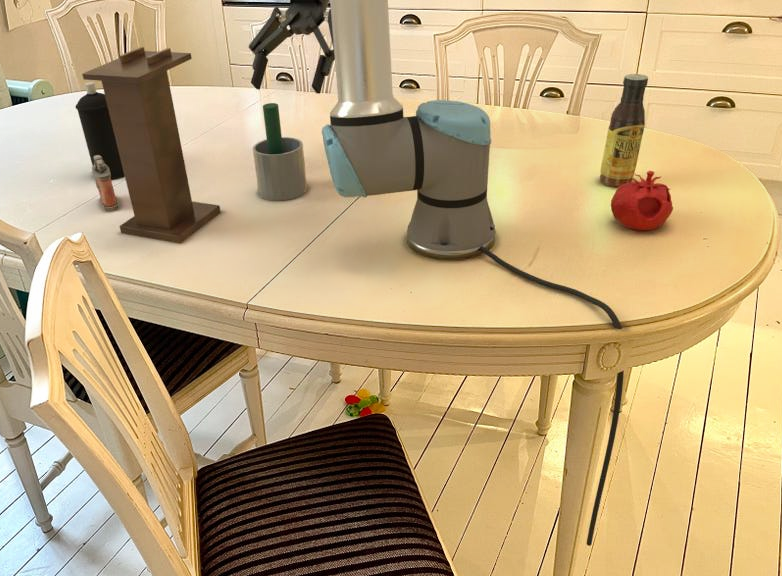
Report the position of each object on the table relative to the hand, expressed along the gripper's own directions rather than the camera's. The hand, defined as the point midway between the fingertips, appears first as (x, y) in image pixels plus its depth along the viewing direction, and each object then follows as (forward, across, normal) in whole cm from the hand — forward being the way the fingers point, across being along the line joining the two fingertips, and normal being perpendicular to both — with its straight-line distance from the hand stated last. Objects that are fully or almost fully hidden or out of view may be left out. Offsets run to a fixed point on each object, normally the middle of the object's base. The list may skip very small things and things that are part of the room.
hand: (284, 88), depth 146 cm
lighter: (+29, +33, +1) cm, 44 cm away
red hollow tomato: (+14, -69, -14) cm, 71 cm away
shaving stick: (+9, 0, -5) cm, 10 cm away
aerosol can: (+19, +43, -8) cm, 48 cm away
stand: (+31, +14, +4) cm, 35 cm away
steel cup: (+17, 0, -10) cm, 20 cm away
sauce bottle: (+2, -62, -26) cm, 67 cm away
